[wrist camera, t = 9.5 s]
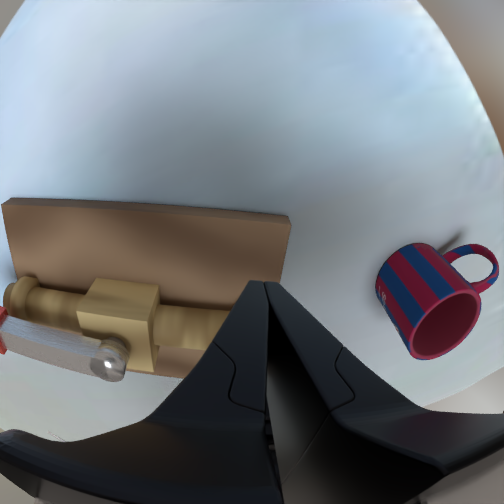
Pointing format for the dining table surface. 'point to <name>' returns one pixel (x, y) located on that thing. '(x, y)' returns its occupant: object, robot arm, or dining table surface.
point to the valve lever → (63, 348)
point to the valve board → (138, 272)
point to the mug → (431, 297)
